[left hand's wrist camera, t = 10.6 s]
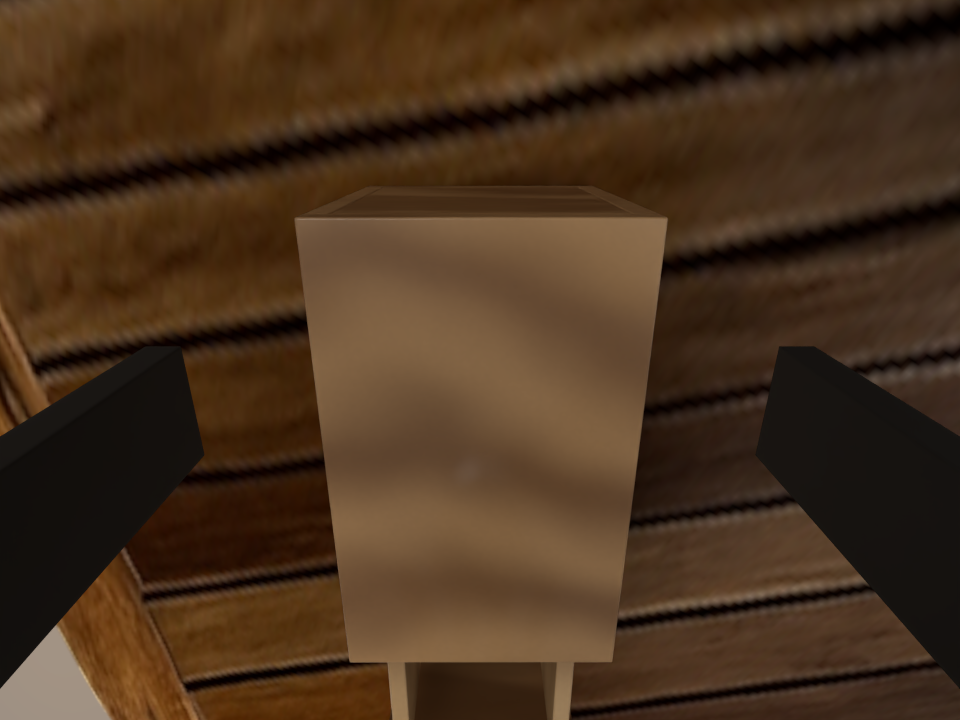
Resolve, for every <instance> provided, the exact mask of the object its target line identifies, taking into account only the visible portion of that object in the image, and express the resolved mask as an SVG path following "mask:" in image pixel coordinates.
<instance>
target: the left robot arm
mask: <svg viewBox="0 0 960 720" xmlns="http://www.w3.org/2000/svg"><path fill="white" fill-rule="evenodd" d="M203 456H204V451H203V446H202V442H201V437H200V432H199V428H198V423H197V419H196V414H195V410H194V405H193V400H192V396H191V391H190V387H189V382H188V378H187V373H186V368H185V364H184V359H183V355H182V350H181V347H144V348H143V349H141V350H139V351H138V352H136V353H135V354H133V355H131V356H130V357H128V358H126V359H125V360H123V361H122V362H120V363H118V364H117V365H115V366H114V367H112V368H110V369H109V370H107V371H105V372H104V373H102V374H101V375H99V376H97V377H96V378H94V379H93V380H91V381H89V382H88V383H86V384H84V385H83V386H81V387H80V388H78V389H76V390H75V391H73V392H72V393H70V394H68V395H67V396H65V397H63V398H62V399H60V400H59V401H57V402H55V403H54V404H52V405H51V406H49V407H47V408H46V409H44V410H42V411H41V412H39V413H38V414H36V415H34V416H33V417H31V418H30V419H28V420H26V421H25V422H23V423H21V424H20V425H18V426H17V427H15V428H13V429H12V430H10V431H9V432H7V433H5V434H4V435H2V436H0V688H1V687H2V686H3V685H4V684H5V683H6V681H7V680H8V679H9V678H10V677H11V676H12V675H13V673H14V672H15V671H16V670H17V669H18V668H19V667H20V665H21V664H22V663H23V662H24V661H25V660H26V658H27V657H28V656H29V655H30V654H31V653H32V652H33V651H34V649H35V648H36V647H37V646H38V645H39V644H40V642H41V641H42V640H43V639H44V638H45V637H46V636H47V635H48V633H49V632H50V631H51V630H52V629H53V628H54V627H55V625H56V624H57V623H58V622H59V621H60V620H61V619H62V617H63V616H64V615H65V614H66V613H67V612H68V611H69V609H70V608H71V607H72V606H73V605H74V604H75V602H76V601H77V600H78V599H79V598H80V597H81V596H82V594H83V593H84V592H85V591H86V590H87V589H88V588H89V586H90V585H91V584H92V583H93V582H94V581H95V580H96V578H97V577H98V576H99V575H100V574H101V573H102V572H103V570H104V569H105V568H106V567H107V566H108V565H109V564H110V562H111V561H112V560H113V559H114V558H115V557H116V556H117V554H118V553H119V552H120V551H121V550H122V549H123V548H124V546H125V545H126V544H127V543H128V542H129V541H130V540H131V538H132V537H133V536H134V535H135V534H136V533H137V532H138V530H139V529H140V528H141V527H142V526H143V525H144V524H145V522H146V521H147V520H148V519H149V518H150V517H151V516H152V514H153V513H154V512H155V511H156V510H157V509H158V508H159V506H160V505H161V504H162V503H163V502H164V501H165V500H166V498H167V497H168V496H169V495H170V494H171V493H172V492H173V490H174V489H175V488H176V487H177V486H178V485H179V483H180V482H181V481H182V480H183V479H184V478H185V477H186V475H187V474H188V473H189V472H190V471H191V470H192V469H193V467H194V466H195V465H196V464H197V463H198V462H199V461H200V459H201V458H202V457H203ZM756 456H757V457H758V458H759V459H760V461H761V462H762V463H763V464H764V465H765V466H766V467H767V469H768V470H769V471H770V472H771V473H772V474H773V475H774V477H775V478H776V479H777V480H778V481H779V482H780V483H781V485H782V486H783V487H784V488H785V489H786V490H787V492H788V493H789V494H790V495H791V496H792V497H793V498H794V500H795V501H796V502H797V503H798V504H799V505H800V506H801V508H802V509H803V510H804V511H805V512H806V513H807V514H808V516H809V517H810V518H811V519H812V520H813V521H814V522H815V524H816V525H817V526H818V527H819V528H820V529H821V530H822V532H823V533H824V534H825V535H826V536H827V537H828V538H829V540H830V541H831V542H832V543H833V544H834V545H835V546H836V548H837V549H838V550H839V551H840V552H841V553H842V554H843V556H844V557H845V558H846V559H847V560H848V561H849V562H850V564H851V565H852V566H853V567H854V568H855V569H856V570H857V572H858V573H859V574H860V575H861V576H862V577H863V578H864V580H865V581H866V582H867V583H868V584H869V585H870V586H871V588H872V589H873V590H874V591H875V592H876V593H877V594H878V596H879V597H880V598H881V599H882V600H883V601H884V602H885V604H886V605H887V606H888V607H889V608H890V609H891V611H892V612H893V613H894V614H895V615H896V616H897V617H898V619H899V620H900V621H901V622H902V623H903V624H904V625H905V627H906V628H907V629H908V630H909V631H910V632H911V633H912V635H913V636H914V637H915V638H916V639H917V640H918V641H919V643H920V644H921V645H922V646H923V647H924V648H925V649H926V651H927V652H928V653H929V654H930V655H931V656H932V657H933V659H934V660H935V661H936V662H937V663H938V664H939V665H940V667H941V668H942V669H943V670H944V671H945V672H946V673H947V675H948V676H949V677H950V678H951V679H952V680H953V681H954V683H955V684H956V685H957V686H958V687H959V688H960V436H958V435H956V434H955V433H953V432H951V431H950V430H948V429H947V428H945V427H943V426H942V425H940V424H939V423H937V422H935V421H934V420H932V419H930V418H929V417H927V416H926V415H924V414H922V413H921V412H919V411H918V410H916V409H914V408H913V407H911V406H909V405H908V404H906V403H905V402H903V401H901V400H900V399H898V398H897V397H895V396H893V395H892V394H890V393H888V392H887V391H885V390H884V389H882V388H880V387H879V386H877V385H876V384H874V383H872V382H871V381H869V380H867V379H866V378H864V377H863V376H861V375H859V374H858V373H856V372H855V371H853V370H851V369H850V368H848V367H846V366H845V365H843V364H842V363H840V362H838V361H837V360H835V359H834V358H832V357H830V356H829V355H827V354H825V353H824V352H822V351H821V350H819V349H817V348H816V347H779V350H778V355H777V359H776V364H775V368H774V373H773V378H772V382H771V387H770V391H769V396H768V400H767V405H766V410H765V414H764V419H763V423H762V428H761V432H760V437H759V442H758V446H757V451H756Z"/></svg>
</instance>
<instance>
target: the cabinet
mask: <svg viewBox="0 0 960 720" xmlns="http://www.w3.org/2000/svg"><path fill="white" fill-rule="evenodd" d="M667 222H668V218H667V217H665V216H662V215H660V214H658V213H656V212H654V211H651V210H649V209H646V208H644V207H642V206H639V205H637V204H634V203H632V202H630V201H627V200H625V199H623V198H620V197H618V196H615V195H613V194H611V193H608V192H606V191H603V190H601V189H599V188H596V187H594V186H368V187H366V188H364V189H361V190H359V191H357V192H354V193H352V194H350V195H347V196H345V197H343V198H340V199H338V200H336V201H333V202H331V203H329V204H326V205H324V206H322V207H319V208H317V209H315V210H312V211H310V212H308V213H305V214H302V215H300V216H298V217H295V227H296V235H297V243H298V251H299V259H300V267H301V275H302V283H303V291H304V299H305V307H306V315H307V323H308V331H309V339H310V347H311V355H312V363H313V371H314V379H315V387H316V396H317V404H318V412H319V420H320V428H321V436H322V444H323V452H324V460H325V468H326V476H327V484H328V492H329V500H330V508H331V516H332V524H333V532H334V540H335V548H336V556H337V564H338V572H339V580H340V588H341V596H342V604H343V612H344V620H345V628H346V636H347V644H348V652H349V660H350V662H612V659H613V651H614V643H615V635H616V627H617V619H618V611H619V603H620V595H621V587H622V579H623V571H624V564H625V556H626V548H627V540H628V532H629V524H630V516H631V508H632V500H633V492H634V484H635V476H636V468H637V460H638V452H639V444H640V436H641V428H642V421H643V413H644V405H645V397H646V389H647V381H648V373H649V365H650V357H651V349H652V341H653V333H654V325H655V317H656V309H657V301H658V293H659V285H660V278H661V270H662V262H663V254H664V246H665V238H666V230H667Z"/></svg>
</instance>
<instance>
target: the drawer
mask: <svg viewBox="0 0 960 720" xmlns="http://www.w3.org/2000/svg"><path fill="white" fill-rule="evenodd" d="M387 663H388V674H389V685H390V696H391V714H390V720H572V717H571V711H570V704H571V693H572V681H573V670H574V662H387Z"/></svg>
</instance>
